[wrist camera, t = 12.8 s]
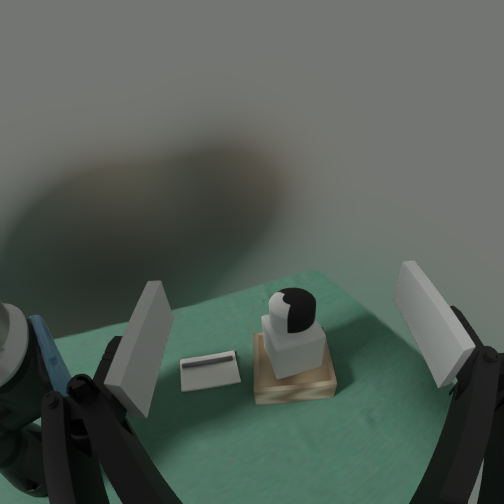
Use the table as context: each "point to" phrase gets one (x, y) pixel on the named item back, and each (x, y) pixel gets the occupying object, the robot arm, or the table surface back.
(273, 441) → the table surface
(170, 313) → the robot arm
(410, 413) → the table surface
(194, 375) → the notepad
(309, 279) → the table surface
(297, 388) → the beech tray
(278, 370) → the medicine bottle
